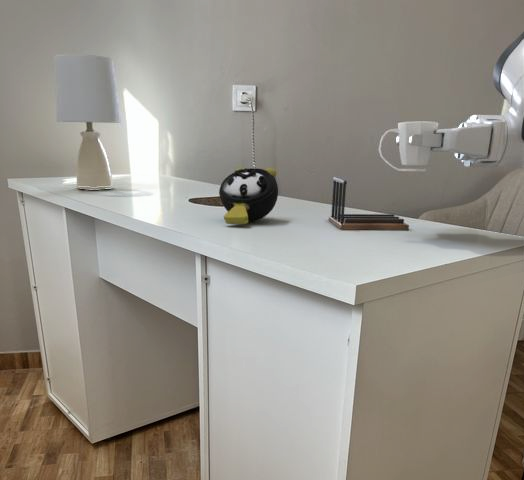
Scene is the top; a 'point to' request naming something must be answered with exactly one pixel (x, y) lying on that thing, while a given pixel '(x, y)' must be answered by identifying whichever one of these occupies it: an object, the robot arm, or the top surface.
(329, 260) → the top surface
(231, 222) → the alarm clock
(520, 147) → the robot arm
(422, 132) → the cup
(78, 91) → the lamp
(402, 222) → the rack
